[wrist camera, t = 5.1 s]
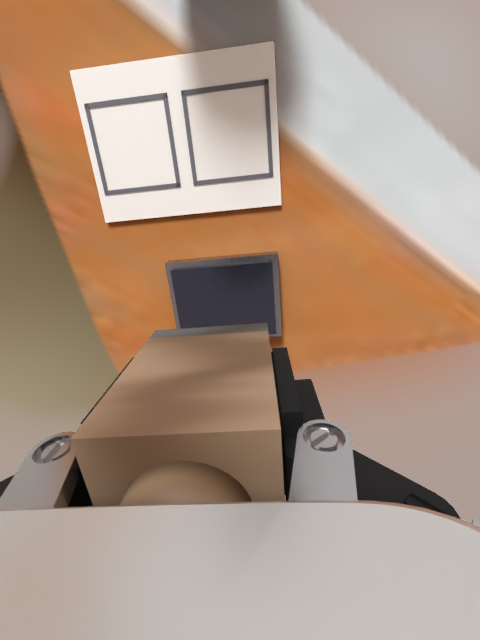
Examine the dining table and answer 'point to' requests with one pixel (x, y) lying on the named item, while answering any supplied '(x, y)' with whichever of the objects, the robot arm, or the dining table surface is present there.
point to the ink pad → (226, 291)
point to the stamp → (187, 423)
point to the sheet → (183, 132)
